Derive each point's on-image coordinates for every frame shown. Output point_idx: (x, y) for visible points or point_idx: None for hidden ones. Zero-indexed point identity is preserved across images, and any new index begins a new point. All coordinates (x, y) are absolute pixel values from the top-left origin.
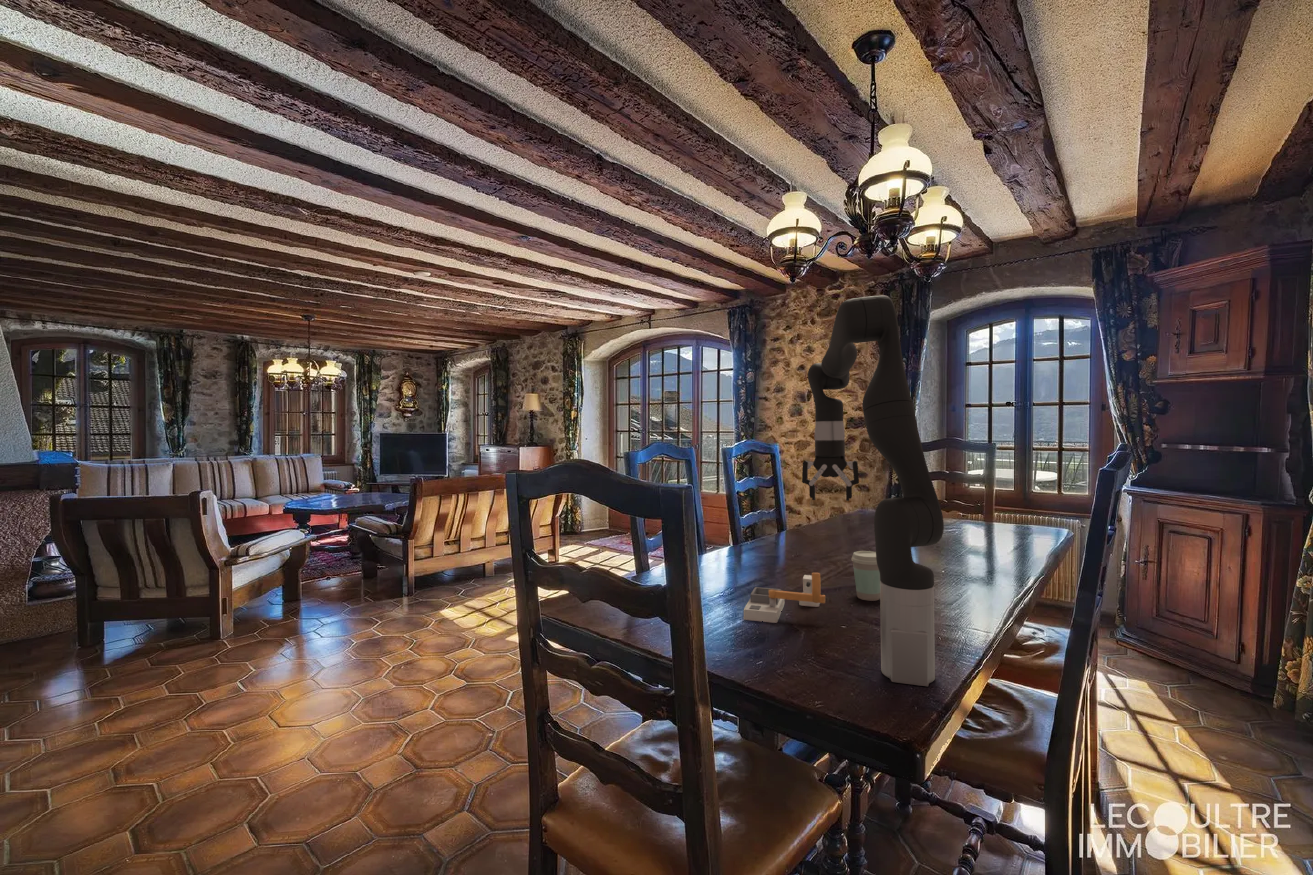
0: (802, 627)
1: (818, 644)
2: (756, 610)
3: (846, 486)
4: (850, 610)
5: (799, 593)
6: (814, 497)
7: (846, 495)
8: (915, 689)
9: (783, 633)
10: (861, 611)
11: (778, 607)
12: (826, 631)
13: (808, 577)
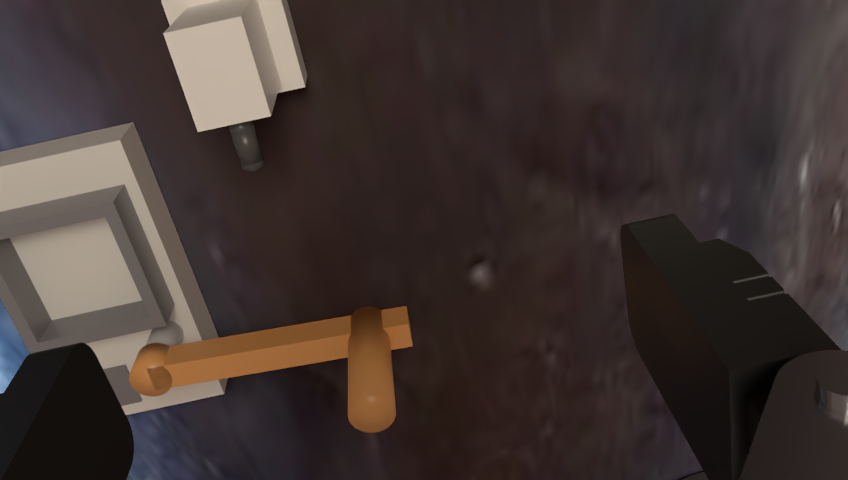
0: (338, 359)
1: (440, 462)
2: (137, 411)
3: (739, 475)
4: (467, 50)
5: (288, 359)
6: (121, 477)
7: (667, 392)
8: None
9: (300, 439)
10: (521, 38)
11: (198, 335)
12: (433, 352)
13: (216, 85)
